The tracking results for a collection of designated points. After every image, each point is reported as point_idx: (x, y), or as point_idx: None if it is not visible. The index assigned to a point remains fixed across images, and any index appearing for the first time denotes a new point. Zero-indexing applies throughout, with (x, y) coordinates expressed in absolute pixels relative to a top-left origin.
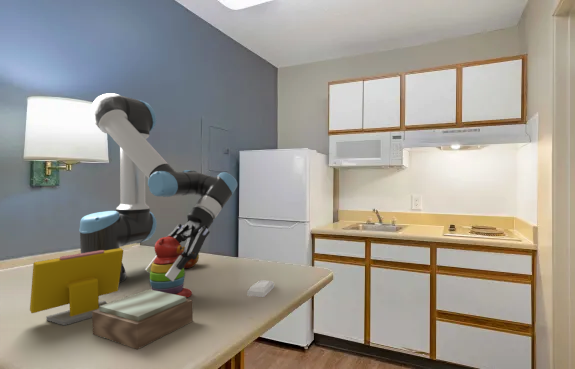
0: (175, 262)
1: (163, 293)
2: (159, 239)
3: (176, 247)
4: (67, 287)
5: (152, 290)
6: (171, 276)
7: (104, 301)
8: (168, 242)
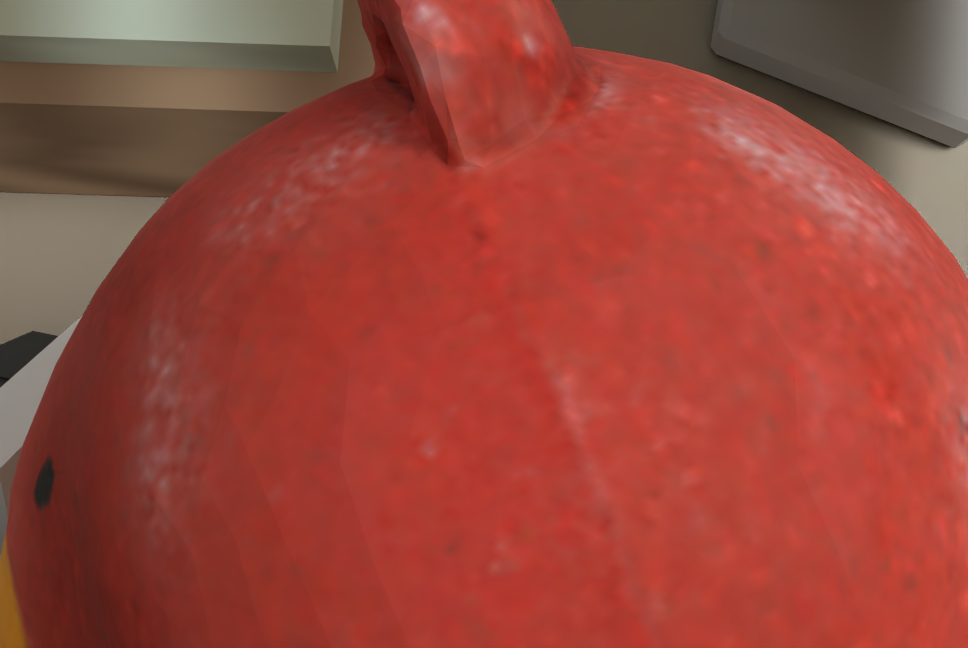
0: None
1: (37, 8)
2: (747, 140)
3: (17, 470)
4: None
5: (248, 31)
6: None
7: (939, 104)
8: (163, 209)
